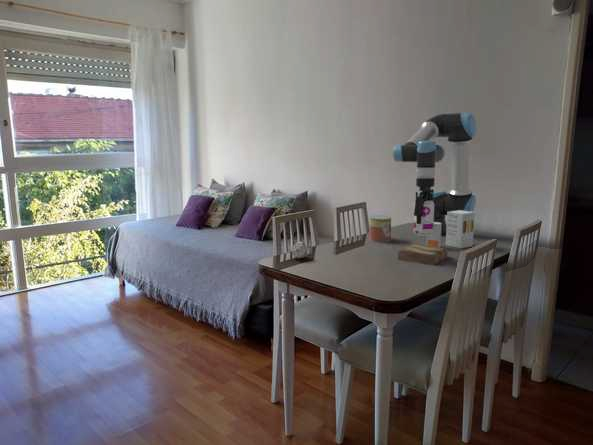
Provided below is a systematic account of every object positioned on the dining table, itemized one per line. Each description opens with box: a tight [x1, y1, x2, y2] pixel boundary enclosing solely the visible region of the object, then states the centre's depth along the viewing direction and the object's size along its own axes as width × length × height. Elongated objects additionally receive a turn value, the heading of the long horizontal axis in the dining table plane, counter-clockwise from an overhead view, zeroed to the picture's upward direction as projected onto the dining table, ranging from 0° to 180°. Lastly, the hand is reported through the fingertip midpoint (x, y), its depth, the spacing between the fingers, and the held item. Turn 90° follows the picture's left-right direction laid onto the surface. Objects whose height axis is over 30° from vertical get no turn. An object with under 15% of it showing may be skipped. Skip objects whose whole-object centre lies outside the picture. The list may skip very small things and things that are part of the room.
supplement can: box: [413, 200, 434, 237], centre depth 197 cm, size 8×8×15 cm
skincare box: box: [425, 222, 442, 248], centre depth 218 cm, size 6×4×12 cm
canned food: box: [368, 214, 392, 243], centre depth 236 cm, size 11×11×12 cm
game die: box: [289, 239, 311, 261], centre depth 202 cm, size 9×8×10 cm
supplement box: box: [445, 210, 476, 249], centre depth 220 cm, size 10×9×17 cm
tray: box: [397, 243, 448, 266], centre depth 200 cm, size 16×16×4 cm
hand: (423, 229), depth 197 cm, fingers closed on supplement can, 8 cm apart
